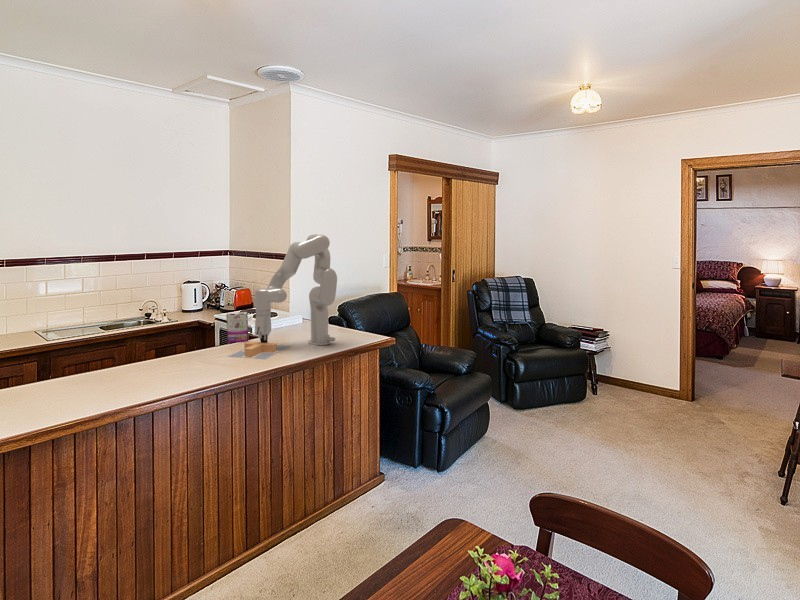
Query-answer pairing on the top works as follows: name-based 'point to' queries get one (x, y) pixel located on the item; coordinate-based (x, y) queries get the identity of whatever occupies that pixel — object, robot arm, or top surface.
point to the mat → (262, 355)
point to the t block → (258, 348)
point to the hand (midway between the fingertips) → (264, 347)
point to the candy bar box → (237, 327)
